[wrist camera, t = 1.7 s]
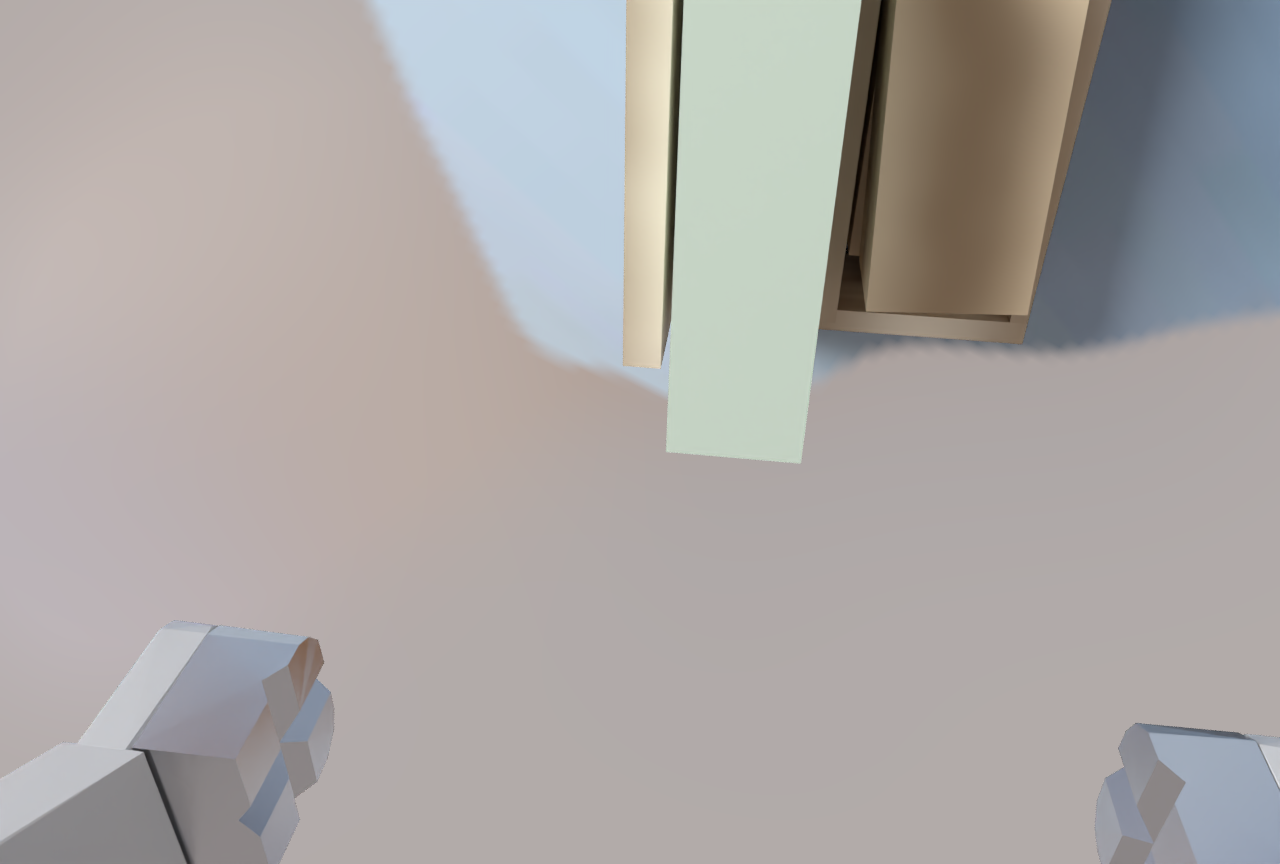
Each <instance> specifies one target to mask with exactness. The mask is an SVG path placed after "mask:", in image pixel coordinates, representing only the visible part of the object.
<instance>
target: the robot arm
mask: <svg viewBox="0 0 1280 864" xmlns="http://www.w3.org/2000/svg"><path fill="white" fill-rule="evenodd" d="M323 664H324V660H323V656H322V652H321V649H320V645H319V642H318V640H317V639H313V638H310V637H305V636H298V635H290V634H283V633H274V632H267V631H259V630H252V629H245V628H237V627H230V626H221V625H219V626H218V625H210V624H202V623H194V622H185V621H178V620H174V621H172V622H171V623H169V624H167V625H166V626H164V627H163V628H161V629H160V630H159V631H158V632H157V633H156V635H155V636H154V638H153V639H152V641H151V642H150V643H149V644H148V646H147V647H146V649H145V650H144V652H143V653H142V654H141V656H140V657H139V658H138V660H137V661H136V662H135V664H134V665H133V667H132V668H131V669H130V671H129V672H128V674H127V675H126V676H125V678H124V679H123V681H122V682H121V683H120V684H119V686H118V687H117V689H116V690H115V691H114V693H113V695H111V697H110V698H109V700H108V701H107V703H106V704H105V705H104V707H103V708H102V709H101V711H100V712H99V713H98V715H97V716H96V718H95V719H94V720H93V722H92V723H91V724H90V726H89V727H88V729H87V730H86V731H85V733H84V734H83V736H82V737H81V738H80V740H79V741H78V742H77V743H66V742H62V743H60V744H59V745H57V746H55V747H54V748H52V749H50V750H48V751H47V752H45V753H43V754H42V755H40V756H38V757H36V758H35V759H34V760H31V761H30V762H28V763H26V764H25V765H23V766H21V767H20V768H18V769H16V770H14V771H13V772H11V773H9V774H8V775H6V776H4V777H3V778H1V779H0V864H279V863H280V861H281V859H282V857H283V855H284V852H285V850H286V848H287V846H288V844H289V842H290V840H291V837H292V835H293V833H294V831H295V829H296V827H297V825H298V822H299V820H300V818H299V814H298V810H297V806H296V803H295V799H294V798H296V797H297V796H298V795H300V794H301V793H302V792H304V791H305V790H307V789H308V788H309V787H311V786H312V785H313V784H315V783H316V782H317V781H318V779H319V776H320V774H321V772H322V769H323V767H324V765H325V762H326V760H327V758H328V754H329V750H330V745H331V741H332V736H333V732H334V706H333V701H332V696H331V692H330V691H329V690H328V689H327V688H326V687H325V686H324V685H323V684H321V683H320V682H319V681H318V680H317V679H316V678H317V676H318V674H319V672H320V670H321V668H322V666H323ZM1118 749H1119V752H1120V756H1121V758H1122V762H1123V765H1124V767H1123V768H1122V769H1120V770H1119V771H1116V772H1115V773H1113V774H1111V775H1110V776H1108V777H1106V778H1105V780H1104V783H1103V785H1102V788H1101V791H1100V793H1099V796H1098V799H1097V805H1096V818H1095V834H1096V842H1097V850H1098V854H1099V858H1100V862H1101V864H1280V737H1270V736H1261V735H1252V734H1244V735H1242V734H1240V733H1236V732H1226V731H1216V730H1215V731H1214V730H1205V729H1194V728H1183V727H1173V726H1162V725H1151V724H1141V723H1135V724H1134V725H1133V726H1131V727H1130V728H1129V729H1128V730H1126V732H1125V734H1124V737H1123V739H1122V741H1121V743H1120V745H1119V747H1118Z"/></svg>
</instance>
